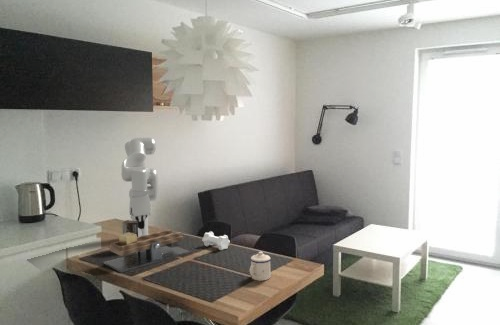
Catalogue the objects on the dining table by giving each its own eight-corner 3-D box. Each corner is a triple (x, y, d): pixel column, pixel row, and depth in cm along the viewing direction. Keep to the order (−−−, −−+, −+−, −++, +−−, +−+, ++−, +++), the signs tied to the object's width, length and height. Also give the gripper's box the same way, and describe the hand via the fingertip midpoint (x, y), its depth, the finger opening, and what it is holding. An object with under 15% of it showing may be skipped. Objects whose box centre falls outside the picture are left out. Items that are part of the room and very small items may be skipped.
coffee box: (143, 247, 229) (142, 219, 228) (139, 251, 223) (137, 222, 221) (127, 247, 230) (126, 219, 229) (123, 251, 224) (121, 222, 222)
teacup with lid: (259, 272, 189) (258, 247, 188) (275, 276, 183) (274, 251, 182) (242, 280, 179) (242, 254, 178) (258, 284, 174) (258, 258, 173)
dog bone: (230, 249, 226) (231, 234, 226) (219, 251, 220) (219, 236, 219) (212, 244, 236) (212, 230, 236) (200, 246, 230) (201, 232, 229)
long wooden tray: (171, 240, 227) (170, 228, 227) (183, 245, 219) (183, 232, 218) (110, 256, 202) (109, 242, 202) (121, 262, 194) (120, 247, 193)
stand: (103, 263, 204) (102, 244, 203) (171, 246, 232) (170, 228, 231) (121, 272, 190) (120, 252, 189) (190, 253, 218) (190, 235, 217)
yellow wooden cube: (119, 246, 202) (119, 235, 201) (129, 243, 206) (129, 232, 206) (127, 248, 198) (126, 236, 197) (137, 245, 203) (136, 234, 202)
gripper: (149, 190, 213) (150, 224, 216) (122, 194, 203) (124, 229, 205) (156, 192, 208) (157, 226, 210) (129, 196, 198) (131, 233, 200)
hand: (141, 228), depth 208 cm, fingers closed
